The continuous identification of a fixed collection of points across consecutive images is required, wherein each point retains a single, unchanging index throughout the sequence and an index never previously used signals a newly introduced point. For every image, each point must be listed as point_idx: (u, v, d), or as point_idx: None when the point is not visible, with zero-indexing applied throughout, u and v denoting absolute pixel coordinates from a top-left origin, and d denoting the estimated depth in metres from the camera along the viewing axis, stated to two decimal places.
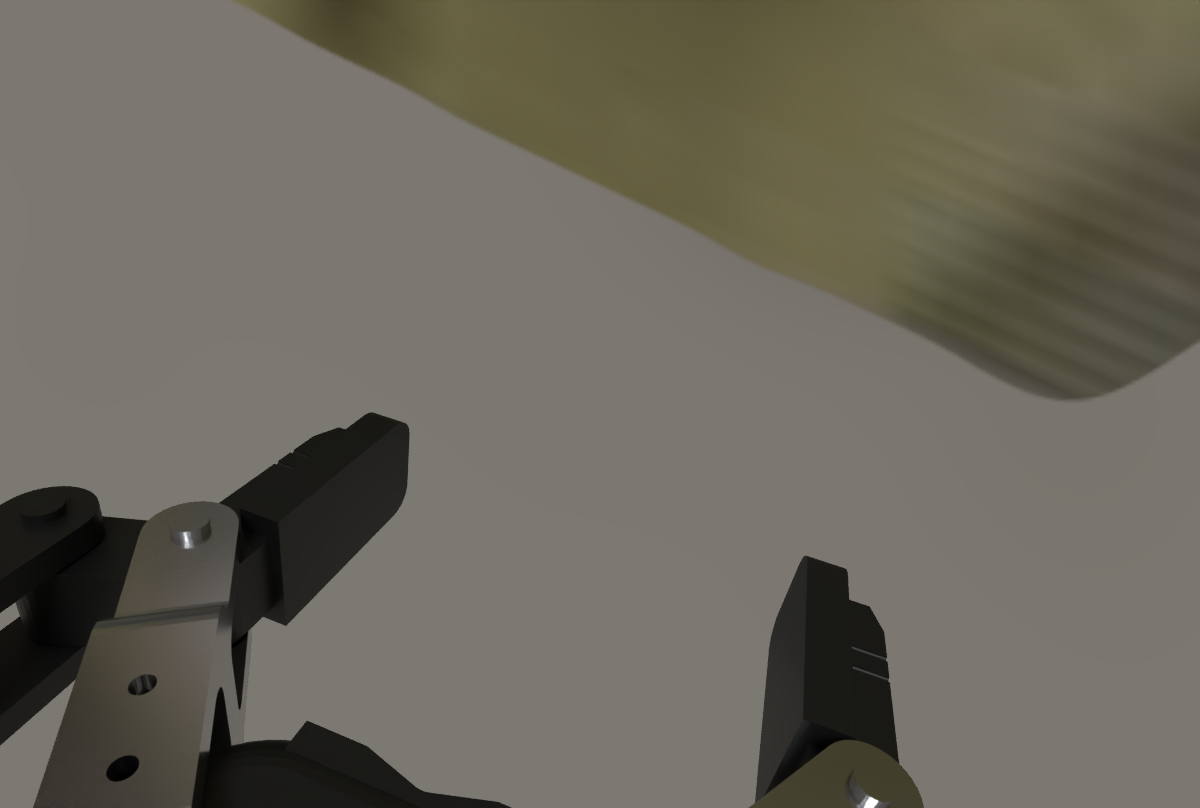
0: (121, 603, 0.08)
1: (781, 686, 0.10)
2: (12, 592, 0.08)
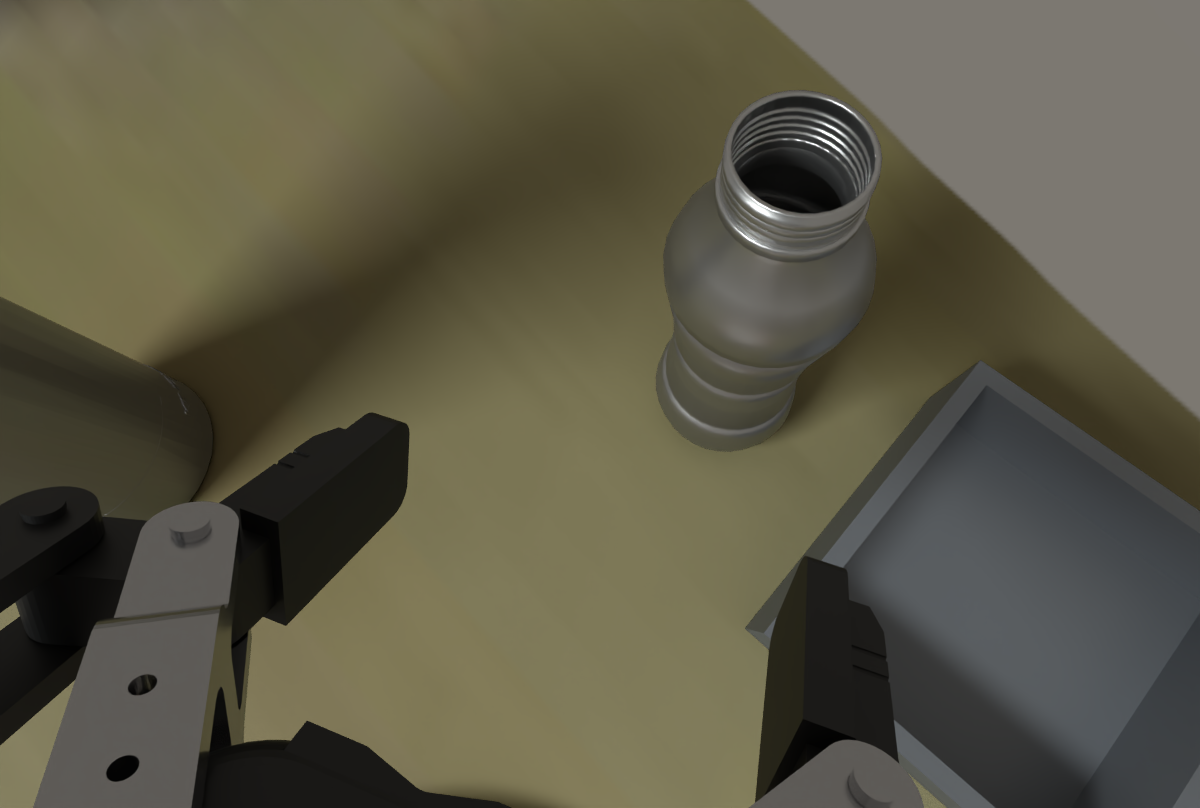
0: (121, 603, 0.08)
1: (781, 686, 0.10)
2: (12, 592, 0.08)
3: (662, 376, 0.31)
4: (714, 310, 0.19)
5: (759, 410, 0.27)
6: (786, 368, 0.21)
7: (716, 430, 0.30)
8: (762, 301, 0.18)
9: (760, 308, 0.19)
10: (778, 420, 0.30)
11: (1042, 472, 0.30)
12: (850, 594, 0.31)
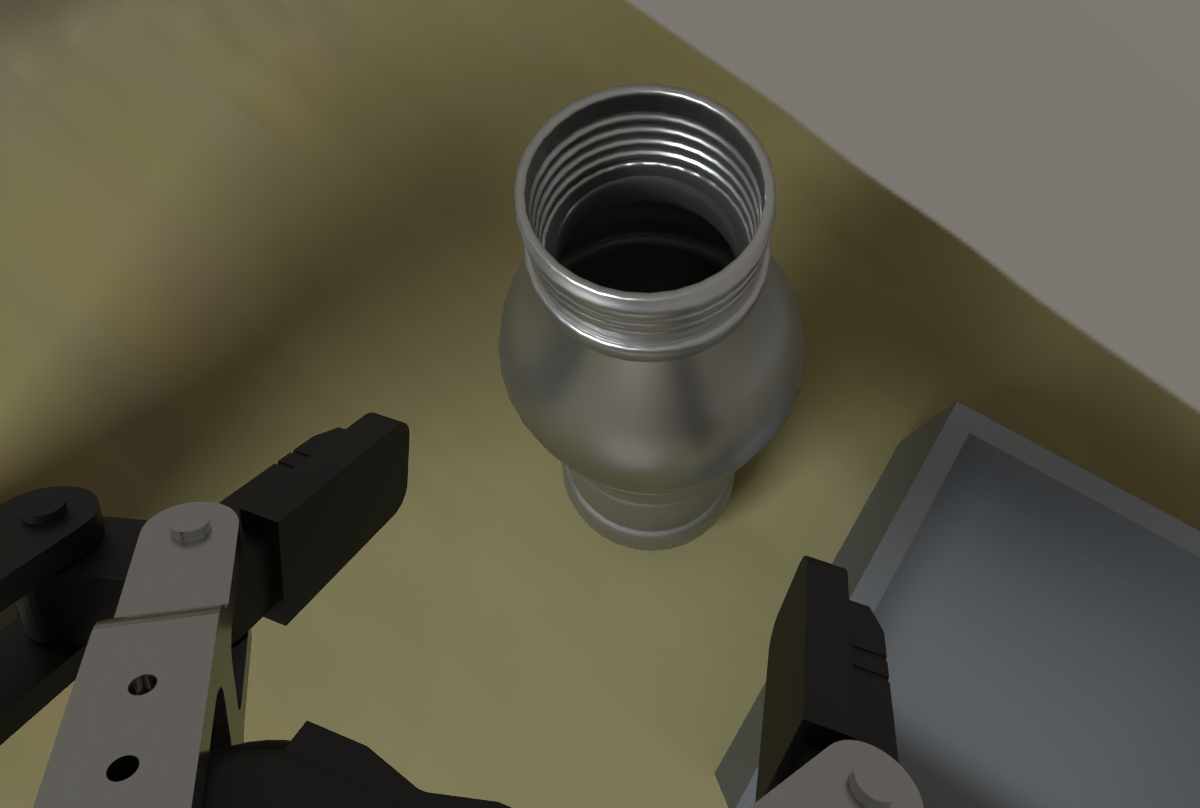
0: (122, 604, 0.08)
1: (781, 686, 0.10)
2: (12, 592, 0.08)
3: (565, 470, 0.24)
4: (569, 431, 0.13)
5: (686, 510, 0.21)
6: None
7: (640, 534, 0.23)
8: (633, 415, 0.12)
9: (633, 424, 0.12)
10: (717, 508, 0.23)
11: (1051, 525, 0.24)
12: None
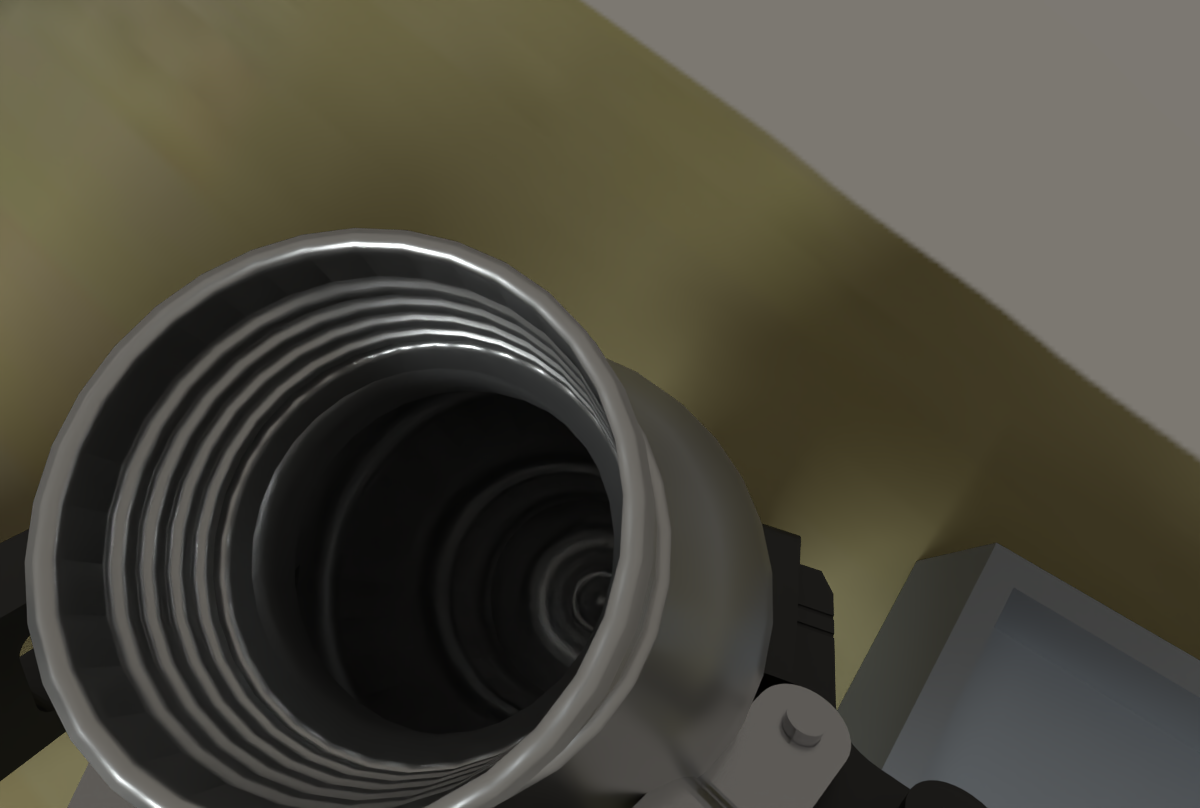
0: None
1: None
2: None
3: None
4: None
5: None
6: None
7: None
8: None
9: None
10: None
11: (1115, 689, 0.19)
12: None
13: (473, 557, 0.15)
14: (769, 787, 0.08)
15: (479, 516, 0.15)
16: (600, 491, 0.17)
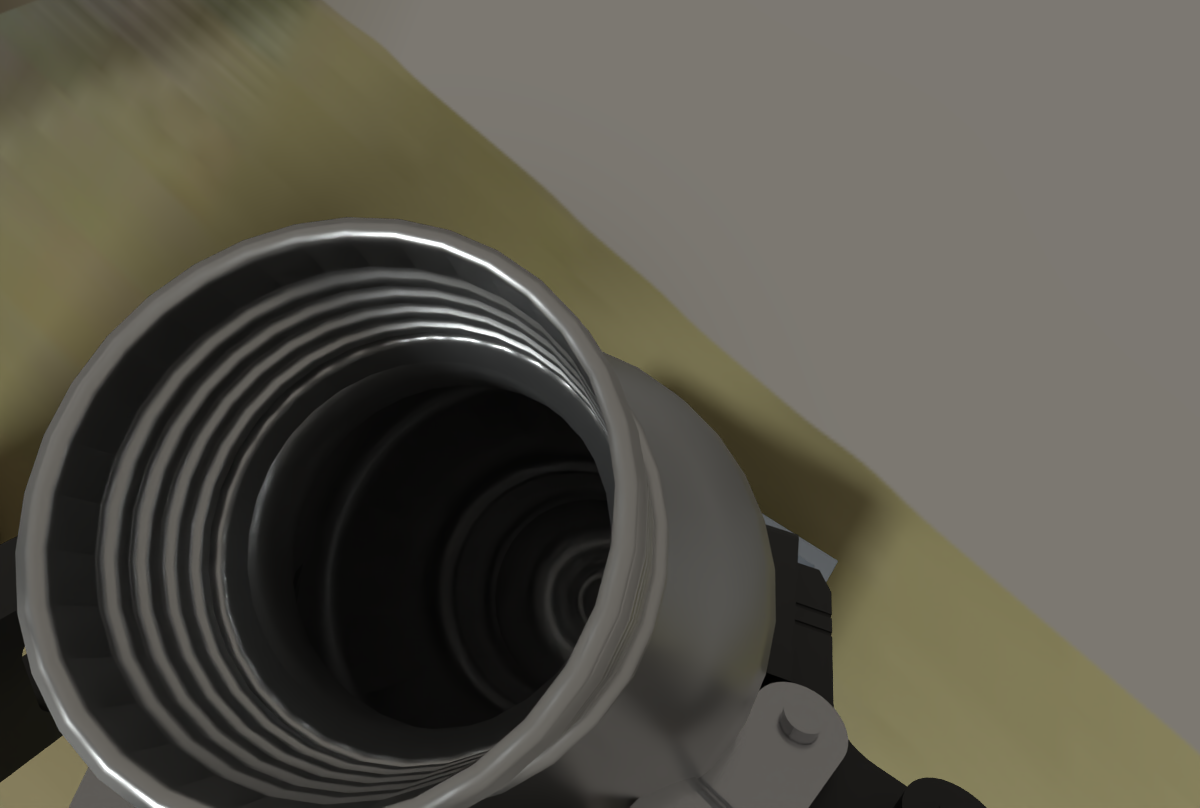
0: None
1: None
2: None
3: None
4: None
5: None
6: None
7: None
8: None
9: None
10: None
11: None
12: None
13: (477, 556, 0.15)
14: (767, 786, 0.08)
15: (483, 515, 0.14)
16: (604, 490, 0.17)
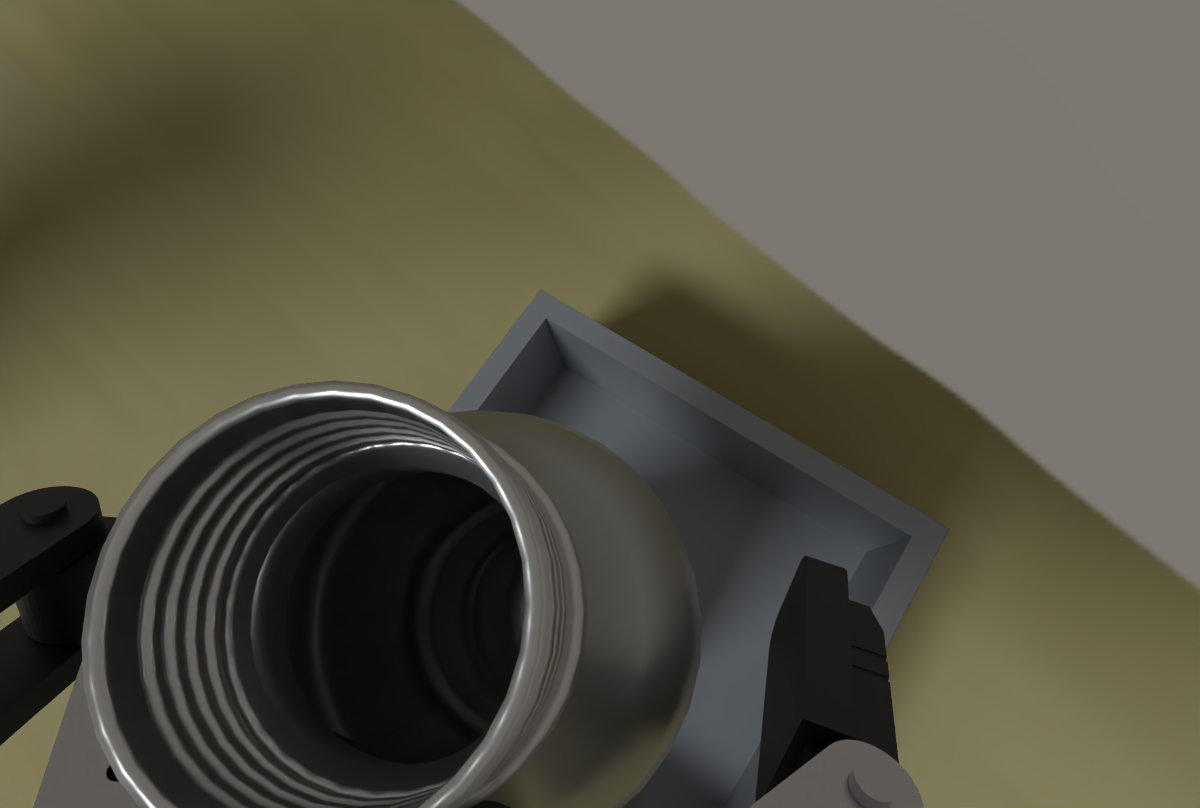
0: None
1: (781, 686, 0.10)
2: (12, 592, 0.08)
3: None
4: None
5: None
6: None
7: None
8: None
9: None
10: None
11: (662, 418, 0.25)
12: None
13: (454, 579, 0.17)
14: None
15: (460, 544, 0.16)
16: None
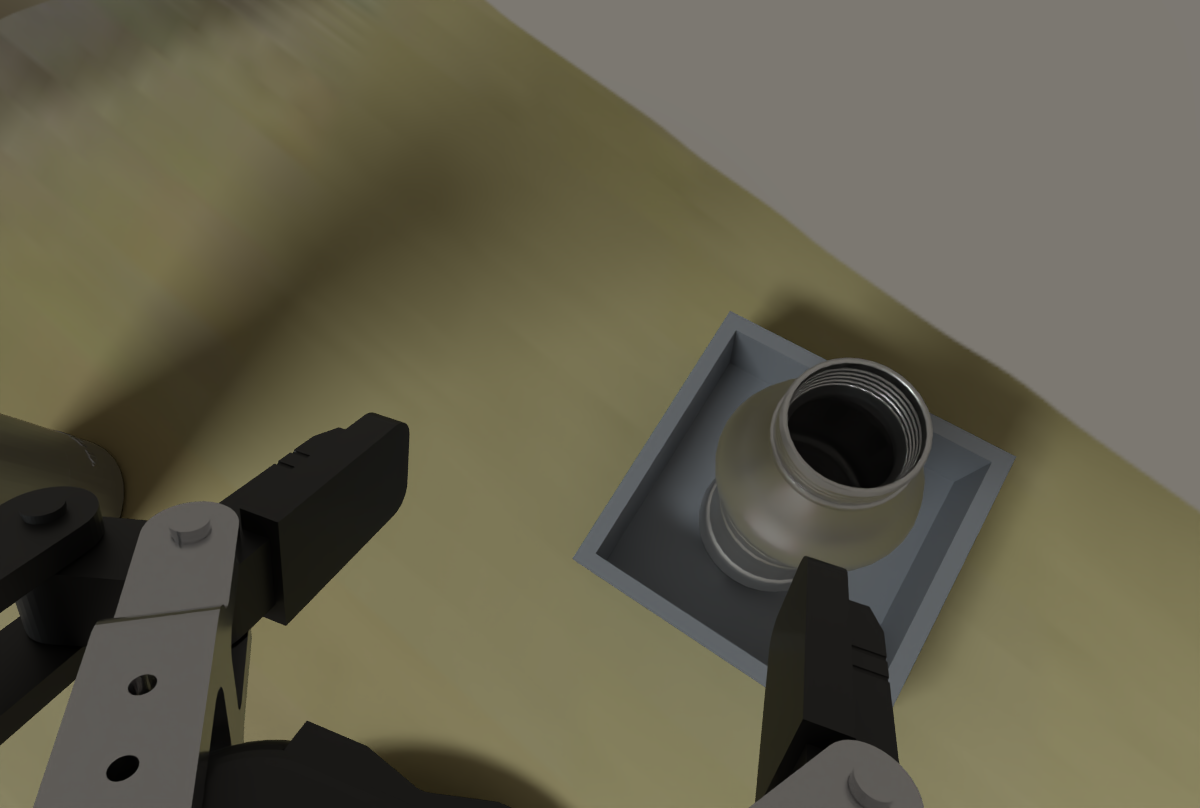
0: (122, 603, 0.08)
1: (781, 686, 0.10)
2: (12, 592, 0.08)
3: (708, 531, 0.31)
4: (779, 538, 0.20)
5: None
6: None
7: (770, 581, 0.30)
8: (826, 533, 0.19)
9: (825, 537, 0.19)
10: None
11: None
12: (666, 523, 0.36)
13: None
14: None
15: None
16: None
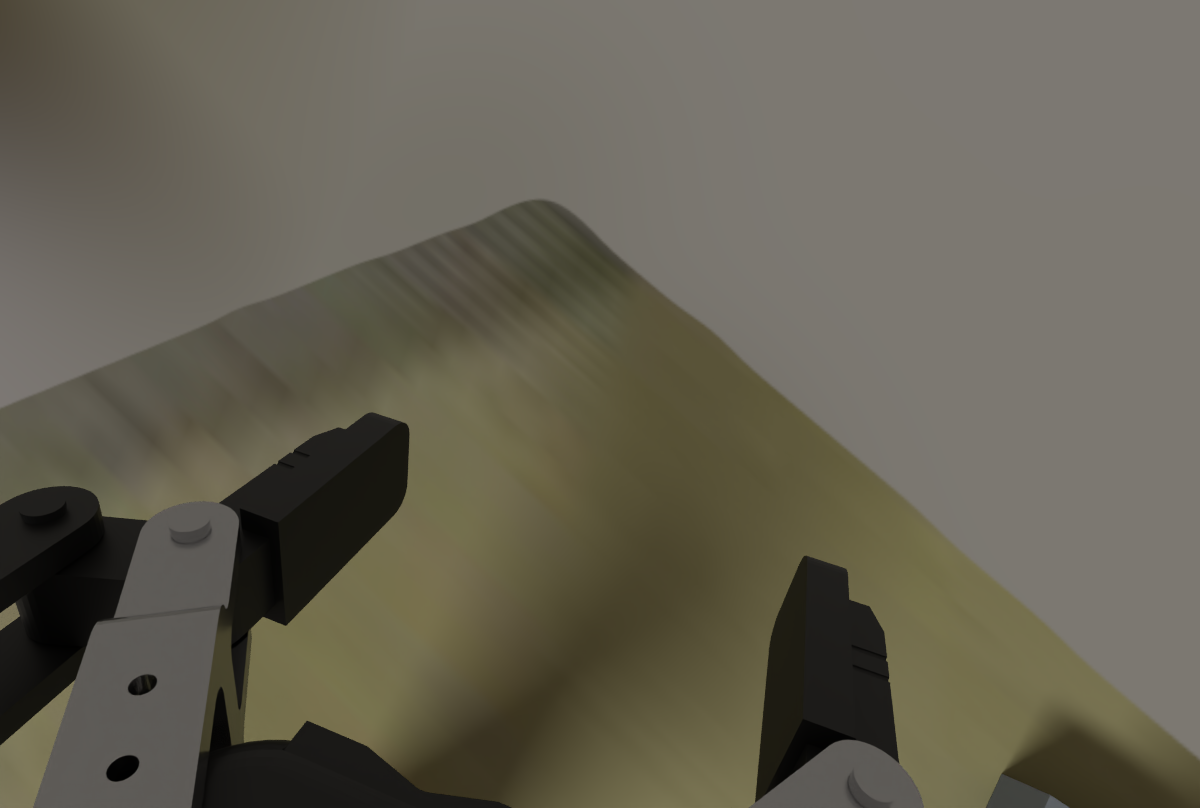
0: (121, 603, 0.08)
1: (781, 686, 0.10)
2: (12, 592, 0.08)
3: None
4: None
5: None
6: None
7: None
8: None
9: None
10: None
11: None
12: None
13: None
14: None
15: None
16: None
